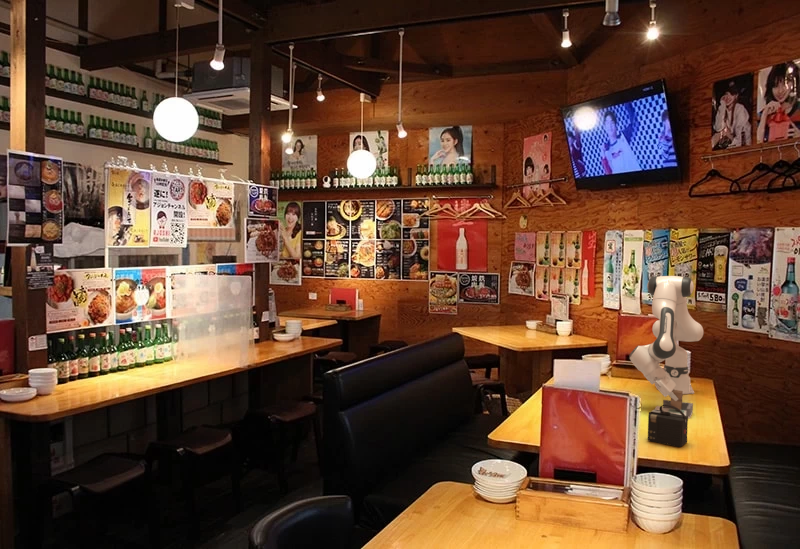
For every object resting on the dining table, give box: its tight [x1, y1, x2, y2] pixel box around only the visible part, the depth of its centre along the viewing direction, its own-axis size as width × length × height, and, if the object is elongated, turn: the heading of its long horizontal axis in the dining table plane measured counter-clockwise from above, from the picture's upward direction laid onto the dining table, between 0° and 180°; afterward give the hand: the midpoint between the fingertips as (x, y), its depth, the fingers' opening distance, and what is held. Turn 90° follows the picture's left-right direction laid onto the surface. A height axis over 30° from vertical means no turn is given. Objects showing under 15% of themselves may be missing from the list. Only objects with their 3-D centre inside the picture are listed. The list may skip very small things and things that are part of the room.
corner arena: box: [654, 399, 694, 420], centre depth 303 cm, size 12×16×4 cm
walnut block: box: [670, 390, 684, 410], centre depth 302 cm, size 4×4×8 cm
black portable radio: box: [647, 404, 689, 448], centre depth 258 cm, size 11×14×15 cm
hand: (678, 398), depth 302 cm, fingers closed on walnut block, 4 cm apart
